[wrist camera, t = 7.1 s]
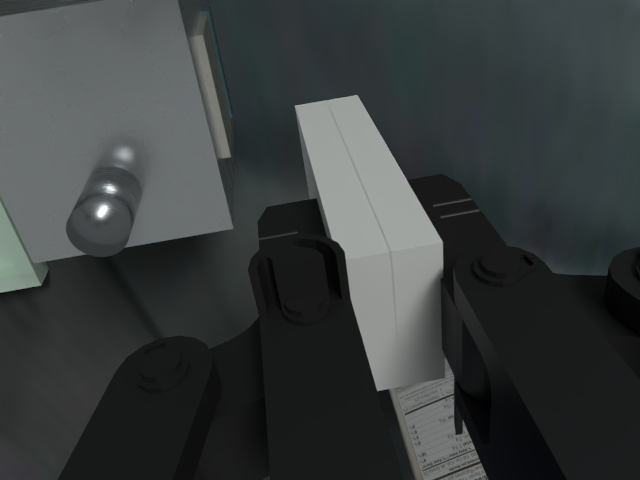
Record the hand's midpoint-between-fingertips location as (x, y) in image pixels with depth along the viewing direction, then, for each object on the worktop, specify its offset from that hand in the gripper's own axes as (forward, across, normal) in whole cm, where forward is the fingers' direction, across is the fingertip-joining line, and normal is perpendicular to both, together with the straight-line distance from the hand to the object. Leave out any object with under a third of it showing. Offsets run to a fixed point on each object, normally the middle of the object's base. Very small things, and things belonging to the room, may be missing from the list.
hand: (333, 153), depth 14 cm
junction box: (+19, -8, -1) cm, 21 cm away
